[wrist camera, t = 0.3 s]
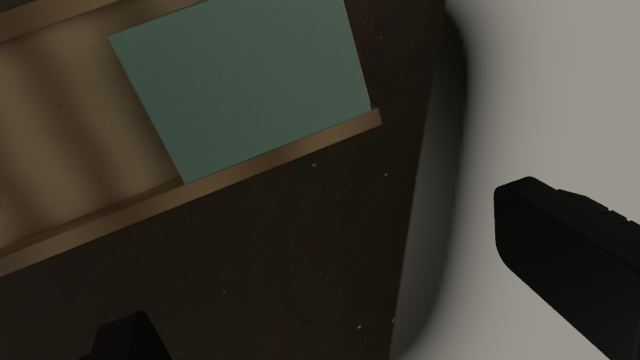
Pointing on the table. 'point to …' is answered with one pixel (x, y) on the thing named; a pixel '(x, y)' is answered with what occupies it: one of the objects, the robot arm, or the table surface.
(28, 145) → the tray
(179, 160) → the green rectangular block
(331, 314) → the table surface
